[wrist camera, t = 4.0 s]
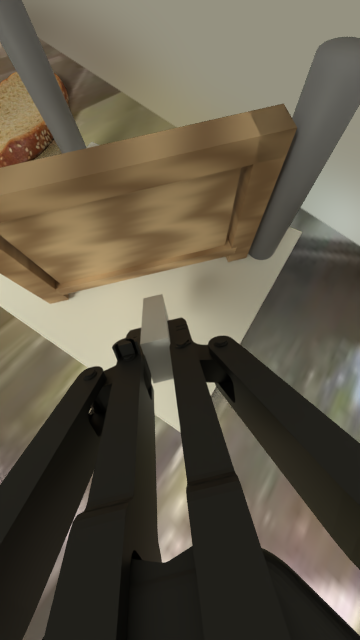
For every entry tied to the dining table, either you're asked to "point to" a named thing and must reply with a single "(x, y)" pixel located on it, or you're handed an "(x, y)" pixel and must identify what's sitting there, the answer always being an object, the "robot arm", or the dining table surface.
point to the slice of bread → (21, 123)
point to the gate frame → (197, 279)
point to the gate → (140, 203)
